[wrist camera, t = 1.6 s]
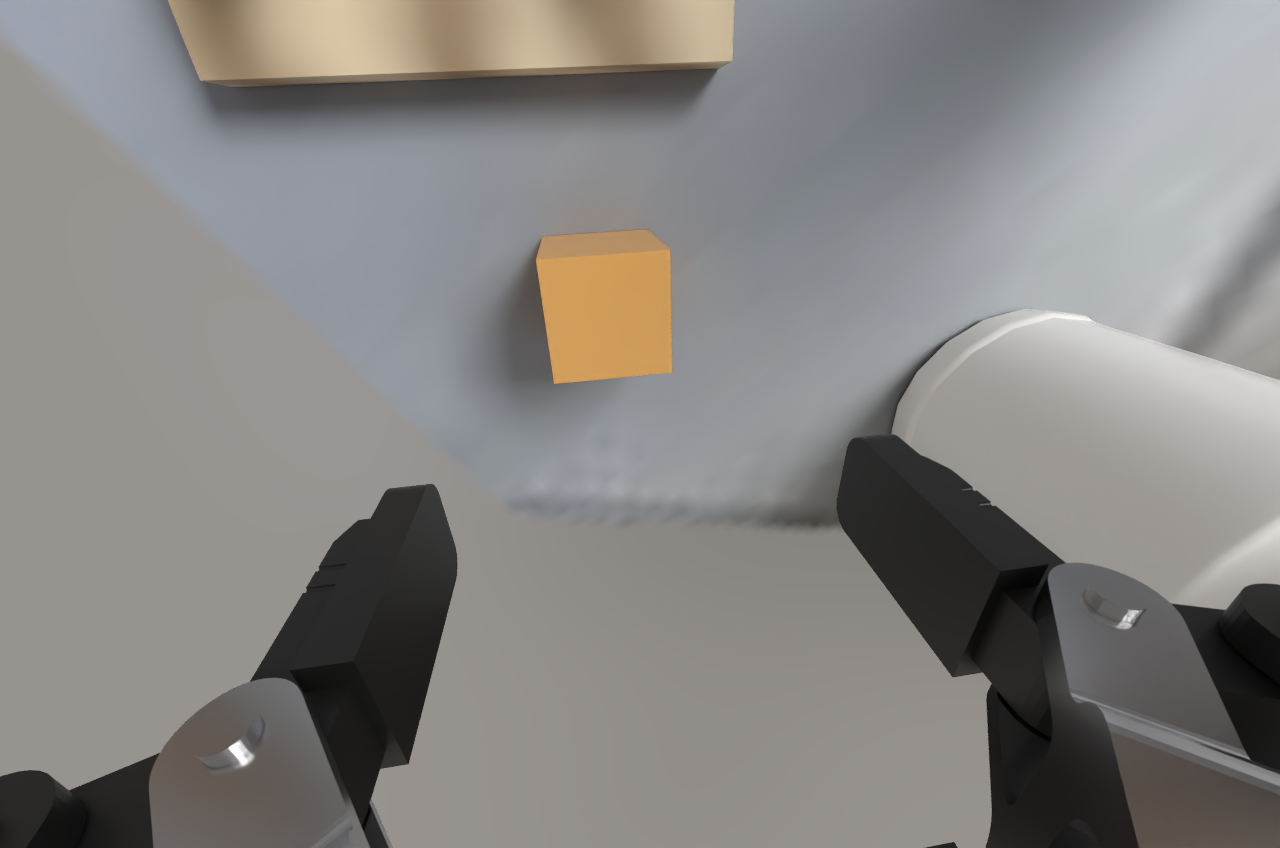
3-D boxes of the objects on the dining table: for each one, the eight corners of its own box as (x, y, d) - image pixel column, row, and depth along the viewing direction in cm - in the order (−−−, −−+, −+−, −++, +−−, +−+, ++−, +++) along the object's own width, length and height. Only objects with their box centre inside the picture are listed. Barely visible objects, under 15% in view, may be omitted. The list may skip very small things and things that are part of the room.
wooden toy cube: (647, 229, 24) (670, 249, 19) (651, 329, 27) (672, 372, 21) (542, 236, 24) (536, 259, 18) (556, 338, 26) (554, 383, 21)
